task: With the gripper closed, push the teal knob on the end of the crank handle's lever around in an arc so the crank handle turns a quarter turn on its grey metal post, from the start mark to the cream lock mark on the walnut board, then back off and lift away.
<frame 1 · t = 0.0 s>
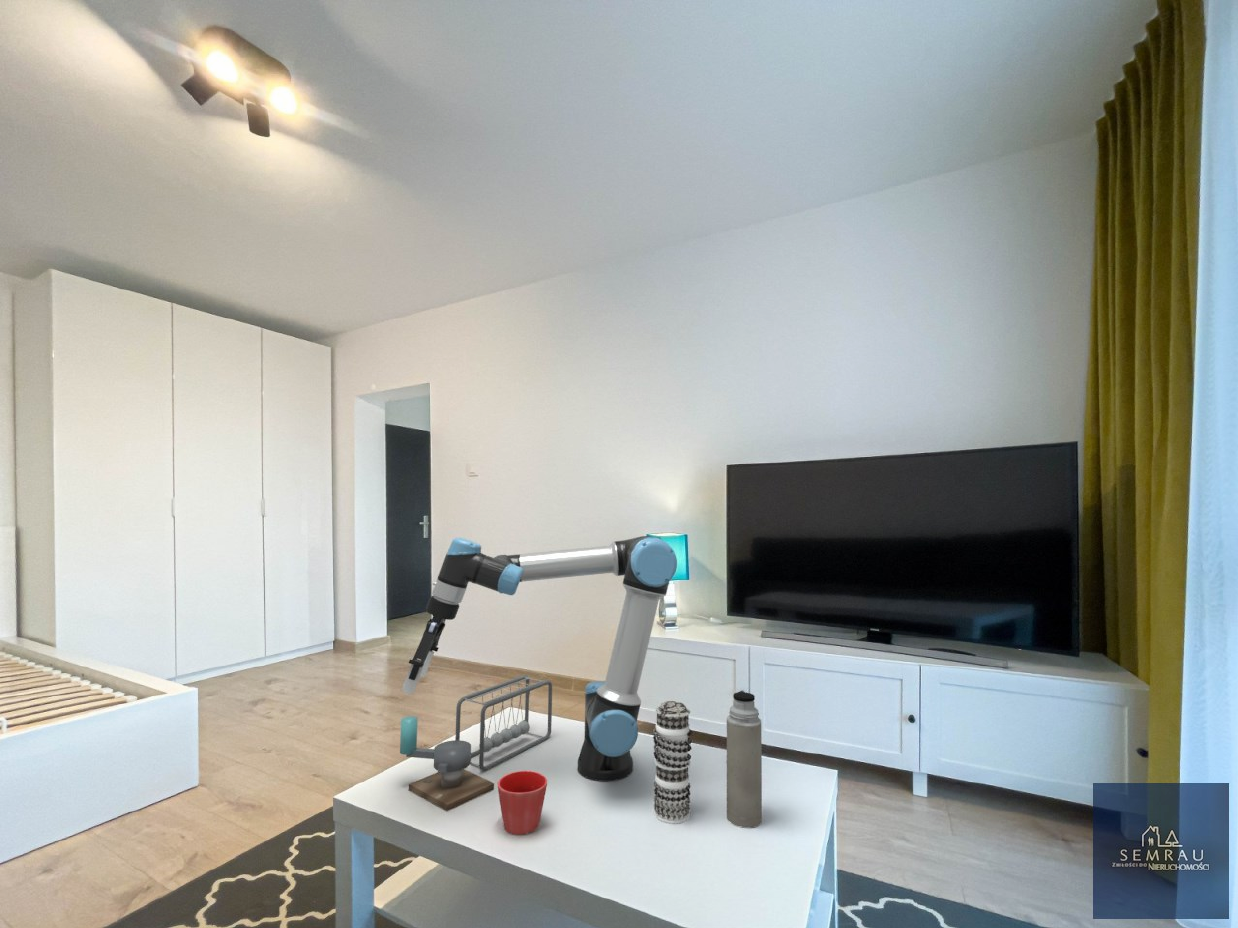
hand: (413, 683, 142), 28 cm above the table, tool tilted 20°, fingers open, 13 cm apart
decorative candle: (671, 814, 136), on the table
thermos bottle: (744, 819, 135), on the table
crank handle: (435, 741, 148), point 11 cm above the table, hinge at 0.0°
post board: (451, 789, 146), on the table
flower pot: (521, 826, 130), on the table
newton's cradle: (505, 750, 171), on the table
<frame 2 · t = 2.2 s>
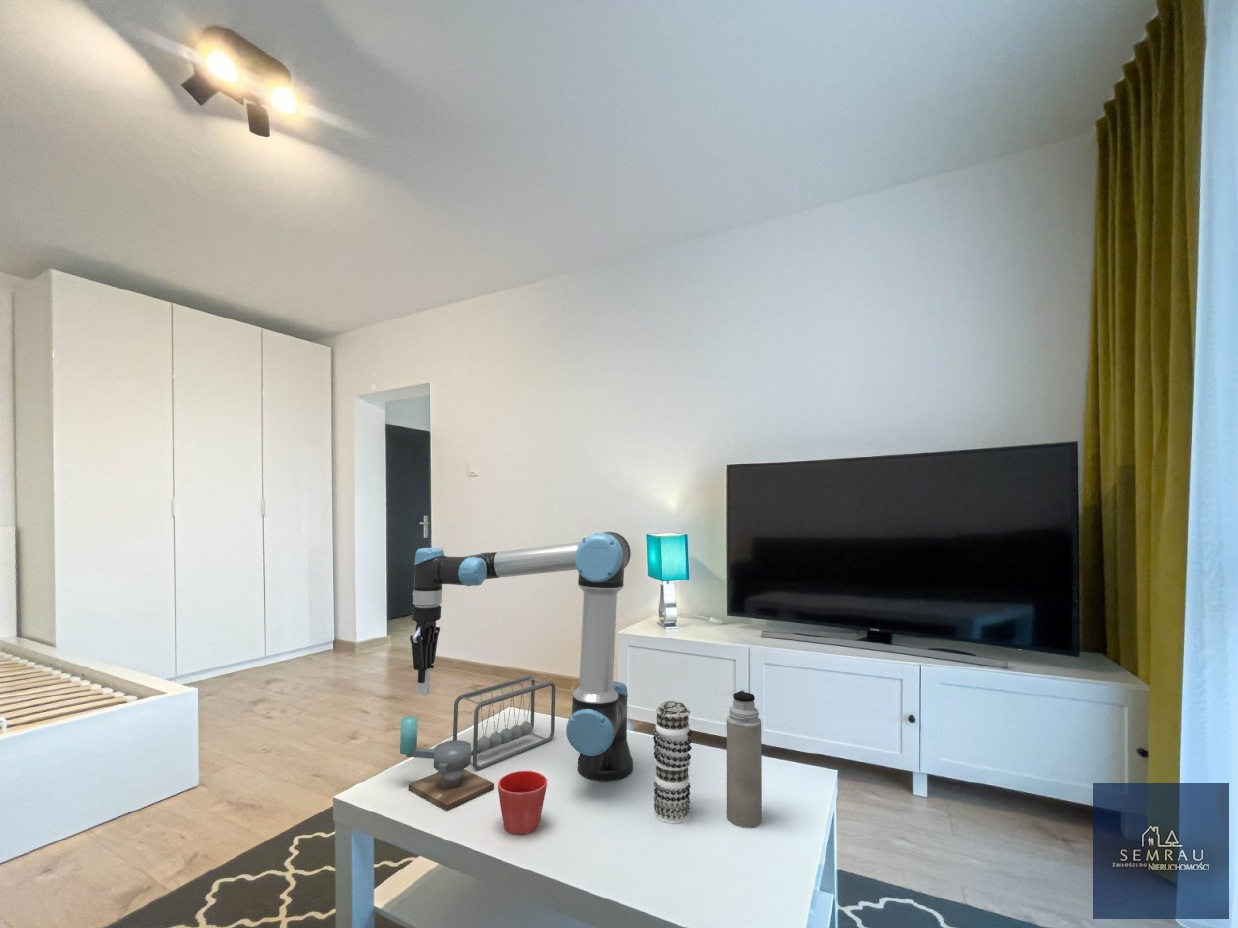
hand: (422, 693, 157), 20 cm above the table, tool pointing down, fingers closed
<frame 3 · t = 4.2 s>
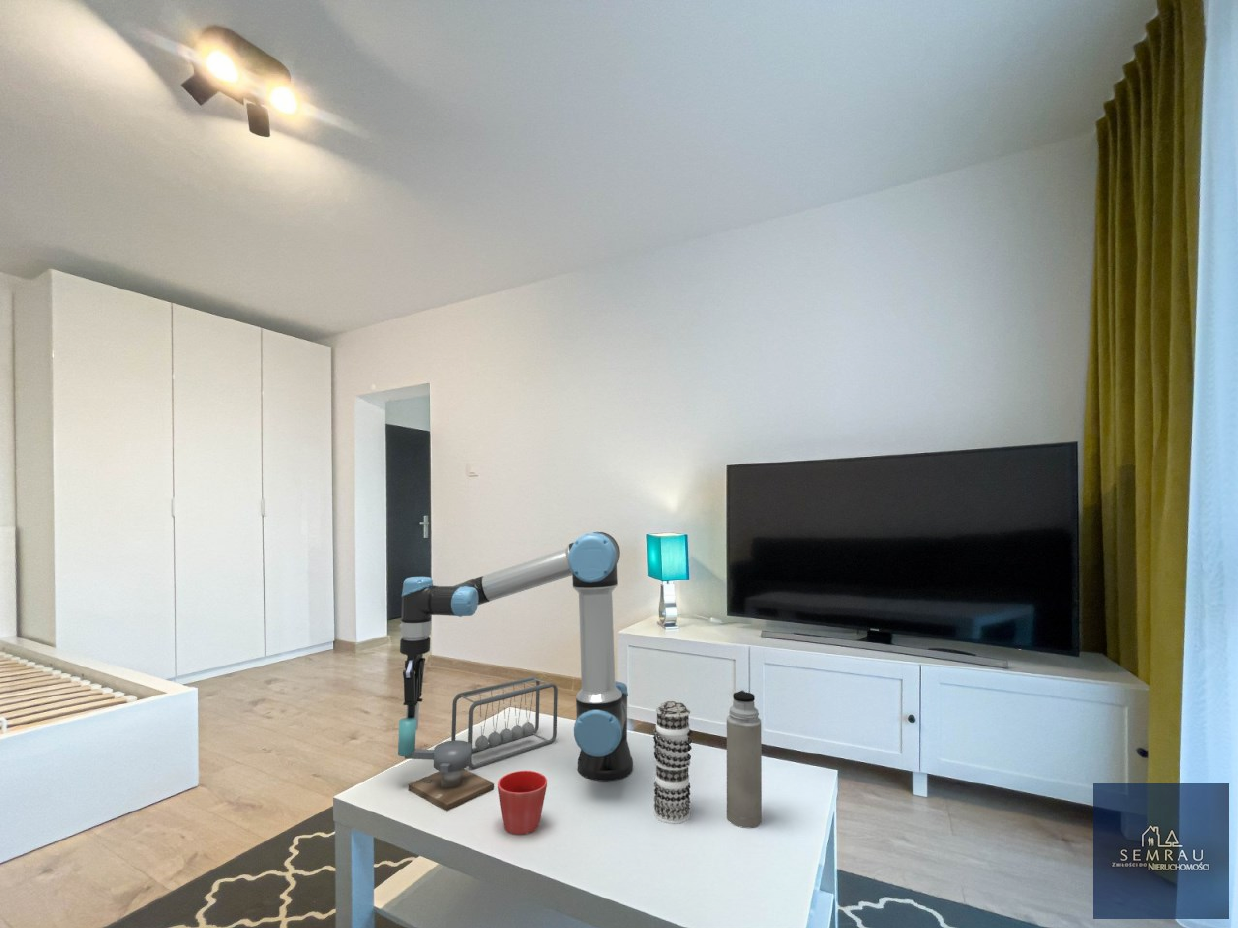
hand: (411, 728, 152), 13 cm above the table, tool pointing down, fingers closed
crank handle: (434, 742, 148), point 11 cm above the table, hinge at 4.9°, touching gripper
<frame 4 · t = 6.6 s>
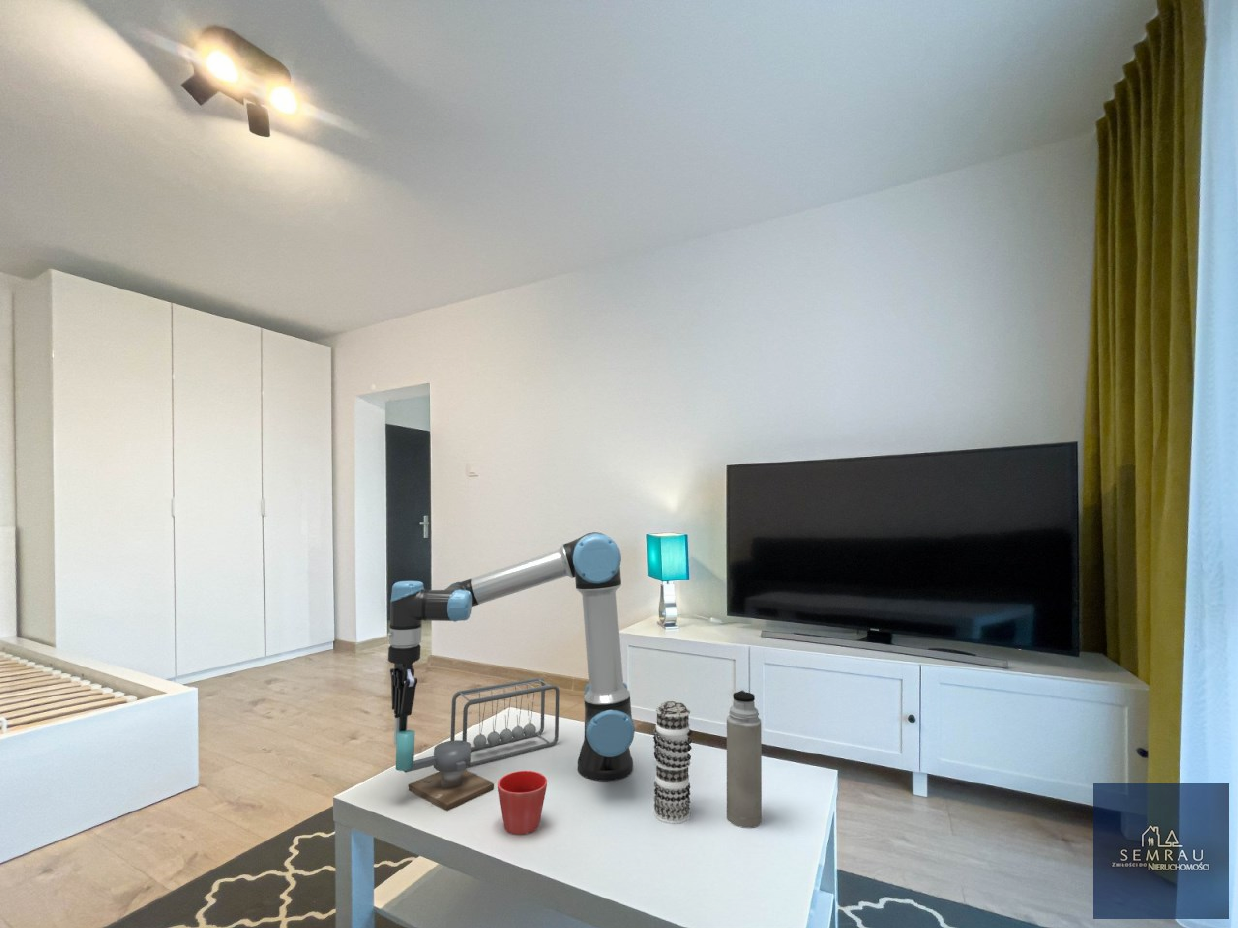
hand: (400, 742, 143), 13 cm above the table, tool pointing down, fingers closed
crank handle: (434, 747, 144), point 11 cm above the table, hinge at 46.2°, touching gripper
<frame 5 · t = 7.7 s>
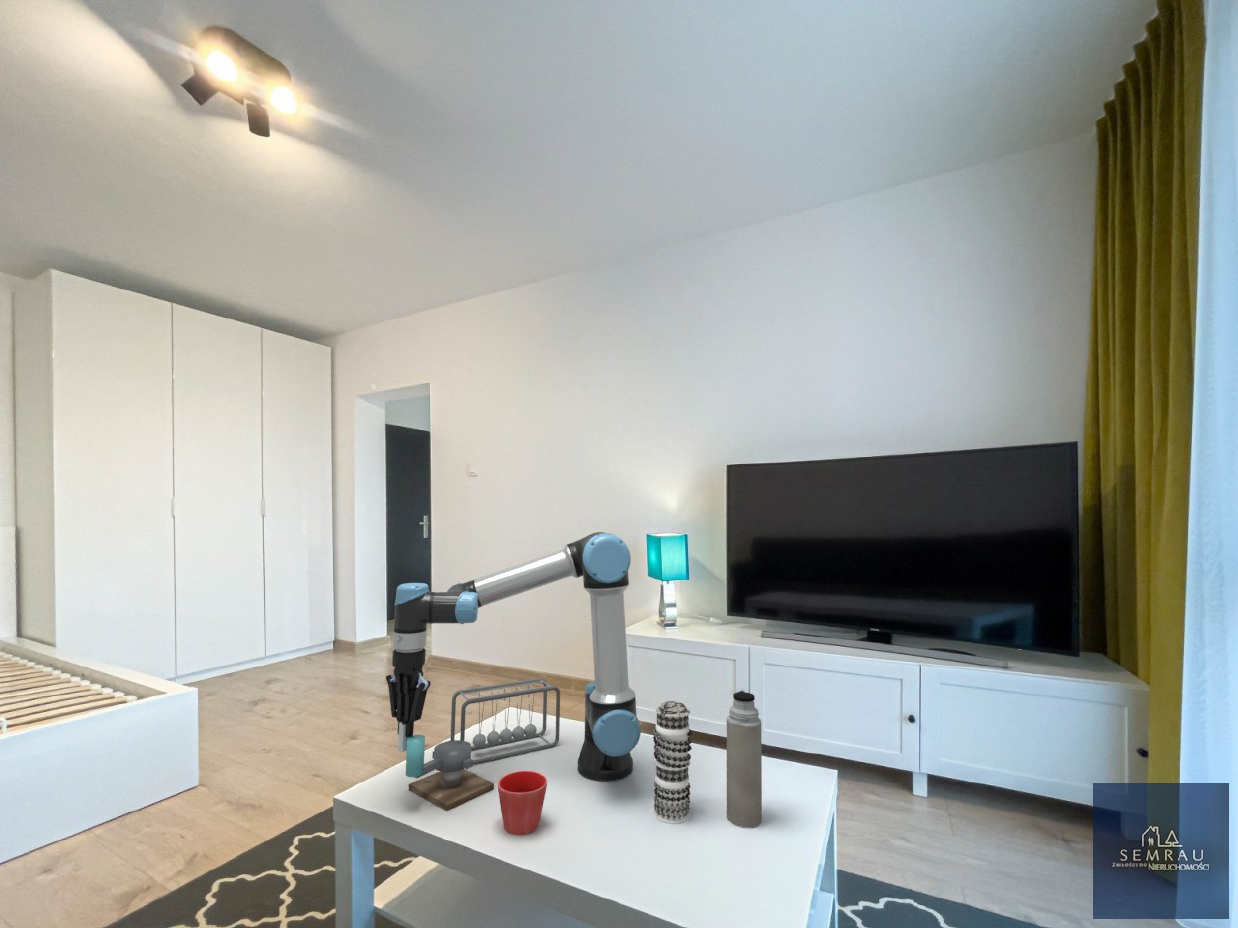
hand: (404, 749, 139), 13 cm above the table, tool pointing down, fingers closed
crank handle: (438, 749, 143), point 11 cm above the table, hinge at 68.8°, touching gripper
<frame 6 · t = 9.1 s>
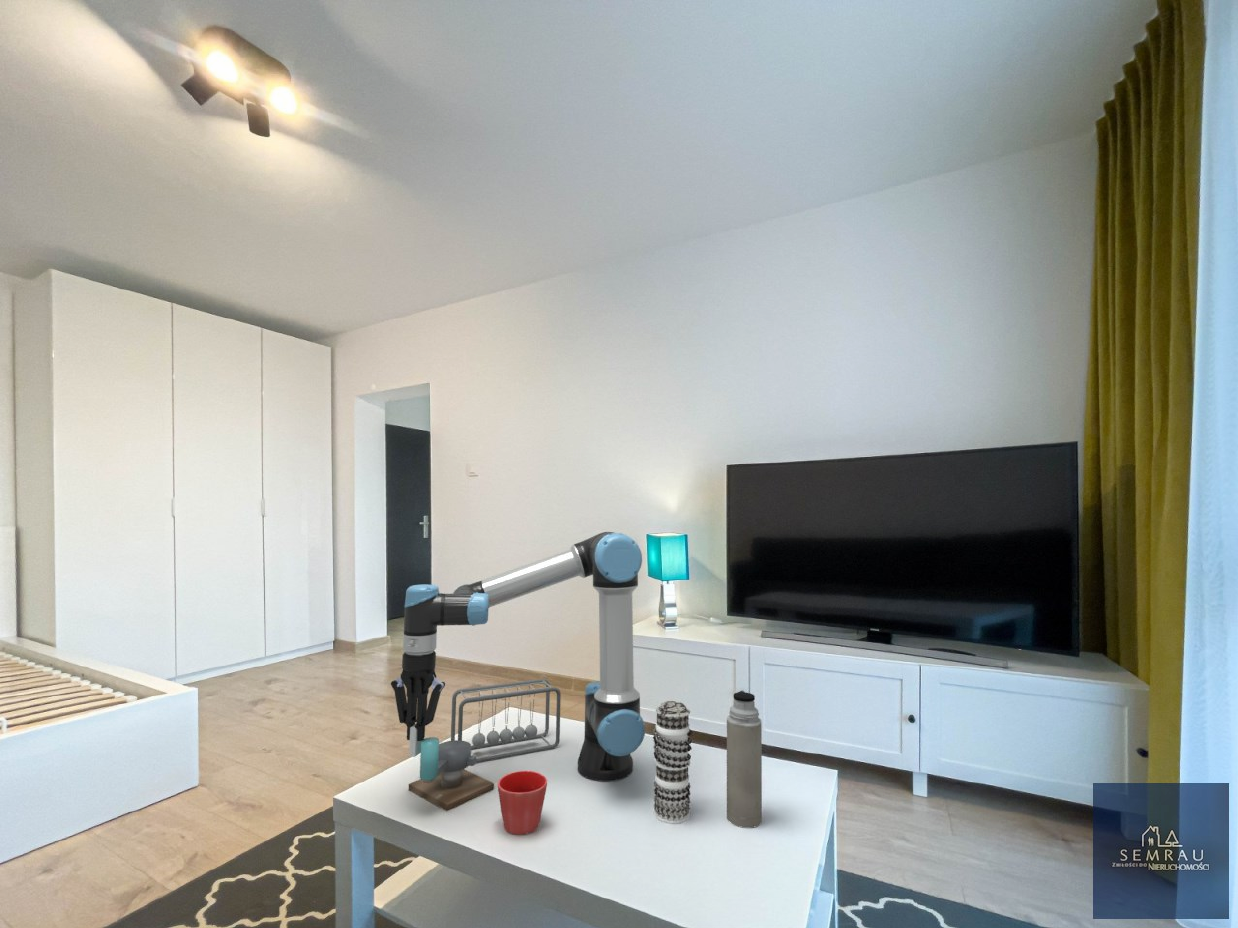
hand: (414, 754, 136), 13 cm above the table, tool pointing down, fingers closed
crank handle: (444, 750, 143), point 11 cm above the table, hinge at 88.0°, touching gripper
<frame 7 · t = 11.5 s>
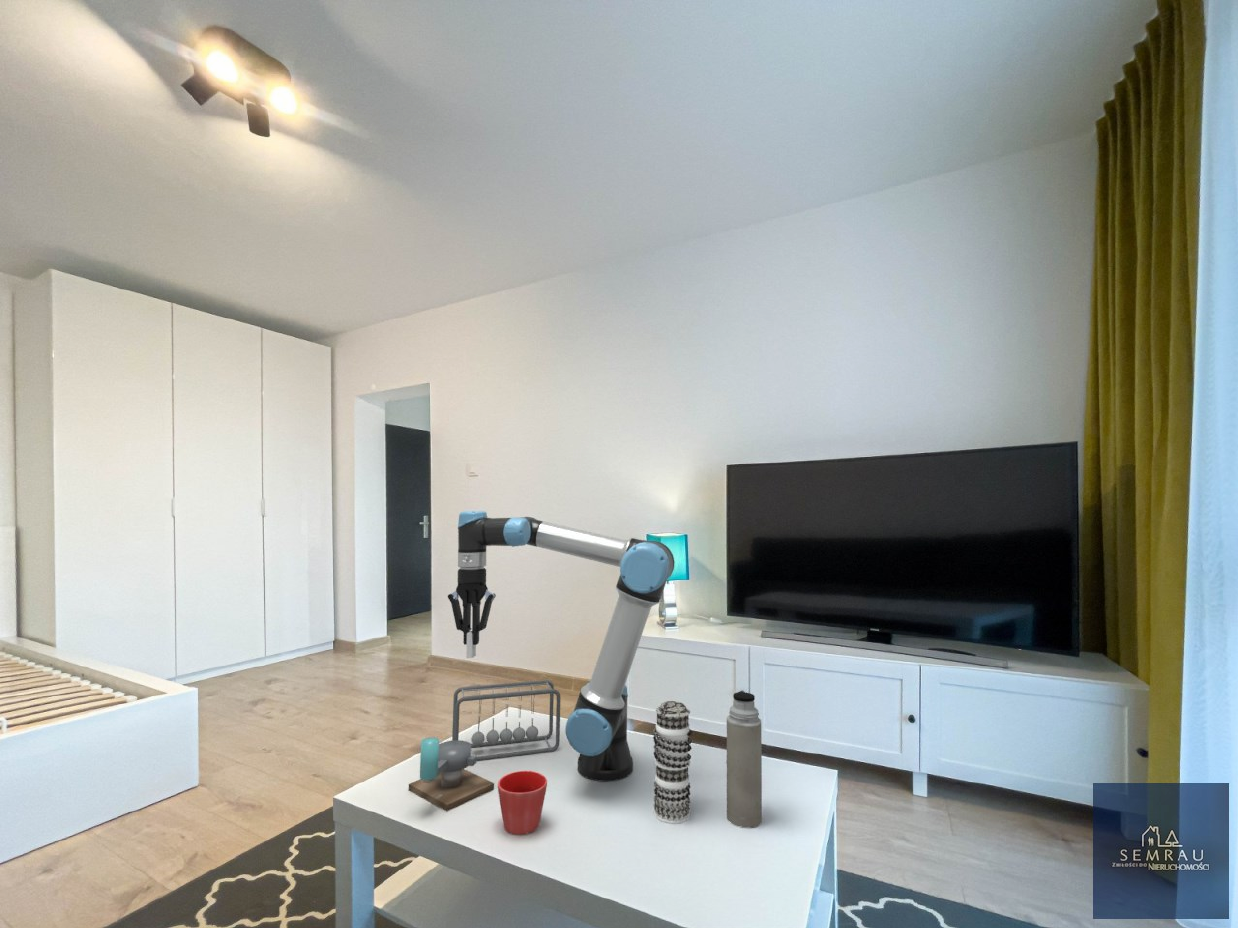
hand: (471, 656, 156), 31 cm above the table, tool pointing down, fingers closed
crank handle: (444, 750, 143), point 11 cm above the table, hinge at 88.0°
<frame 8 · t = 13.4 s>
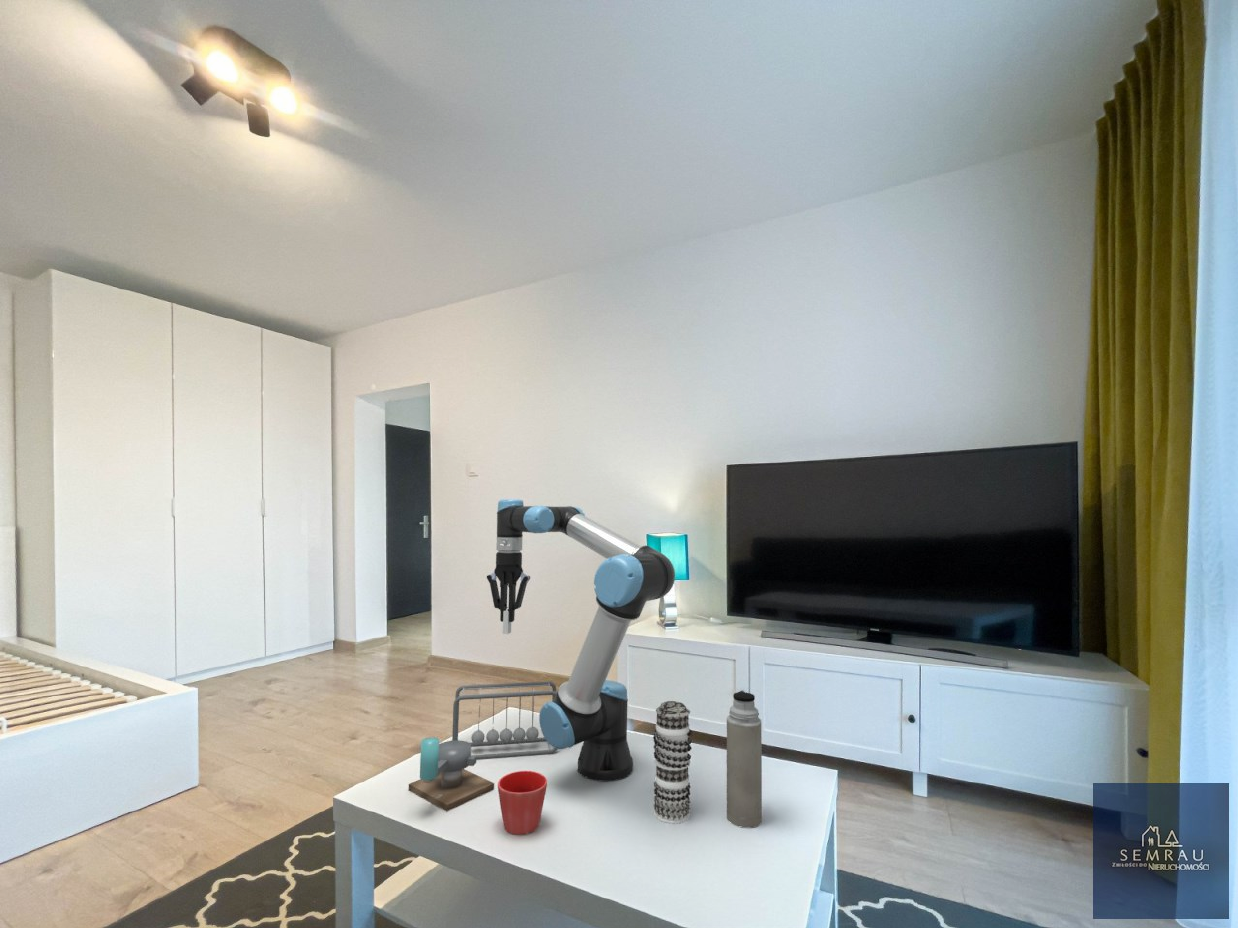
hand: (506, 632, 170), 34 cm above the table, tool pointing down, fingers closed
at the end: crank handle at +88° (first picture: +0°); the gripper is holding nothing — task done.
